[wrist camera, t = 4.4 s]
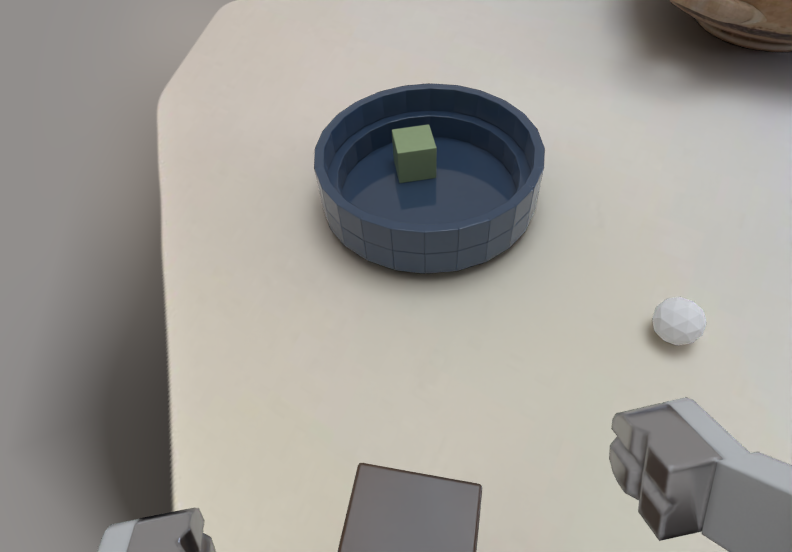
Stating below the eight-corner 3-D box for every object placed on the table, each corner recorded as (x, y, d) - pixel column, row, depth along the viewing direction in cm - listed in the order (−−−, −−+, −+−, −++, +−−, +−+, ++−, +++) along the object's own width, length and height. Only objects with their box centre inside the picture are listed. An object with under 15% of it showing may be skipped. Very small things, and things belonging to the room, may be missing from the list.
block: (399, 183, 43) (397, 153, 40) (393, 159, 45) (391, 129, 42) (436, 178, 43) (436, 147, 41) (429, 154, 45) (428, 124, 42)
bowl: (298, 265, 39) (284, 217, 35) (352, 127, 49) (345, 77, 45) (529, 294, 36) (540, 245, 33) (537, 142, 46) (547, 90, 42)
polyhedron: (680, 311, 35) (698, 283, 33) (703, 351, 33) (724, 324, 31) (638, 317, 35) (653, 290, 32) (658, 358, 33) (676, 332, 31)
